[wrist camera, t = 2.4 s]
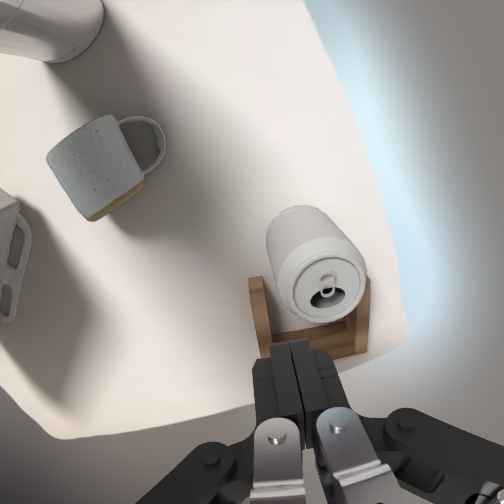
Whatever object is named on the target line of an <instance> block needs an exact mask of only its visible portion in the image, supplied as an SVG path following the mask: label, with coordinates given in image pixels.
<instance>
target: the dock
mask: <svg viewBox="0 0 504 504" xmlns="http://www.w3.org/2000/svg"><path fill="white" fill-rule="evenodd" d="M248 280H249V291H250V302H251V307H252V312H253V318H254V323H255V328H256V334H257V339H258V344H259V349H260V355H261V358H268V357H270V351H269V344H273V343H280V342H286V341H287V342H288V341H292V340H298V339H304V338H307V339H308V341H309V344H310V348H311V350H317V349H322V348H323V349H324V350H325V351H326V352H327V353H328V354H329V355H330V356H331V357H332V360H335V359H339V358H344V357H348V356H352V355H357V354H361V353H365V352H367V343H368V328H369V309H370V279H369V278H368V276H367V275H366V284H365V291H364V294H363V296H362V298H361V300H360V302H359V303H358V305H357V306H356V307H355V308H354V309H353V311H351V312H350V313H348V314H347V315H346V316H344V322H339V323H334V324H329V325H324V326H319V327H314V328H309V329H303V330H298V331H292V332H287V333H281V334H275V335H271V331H270V325H269V318H268V312H267V306H266V299H265V293H264V288H263V282H262V276H260V277H254V278H248ZM288 346H289V344H288Z"/></svg>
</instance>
